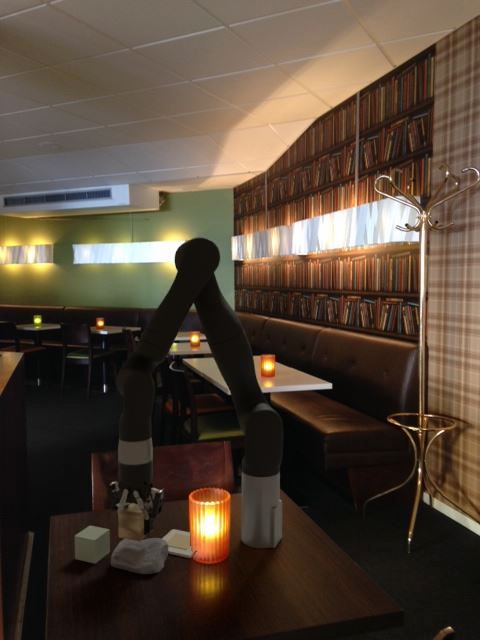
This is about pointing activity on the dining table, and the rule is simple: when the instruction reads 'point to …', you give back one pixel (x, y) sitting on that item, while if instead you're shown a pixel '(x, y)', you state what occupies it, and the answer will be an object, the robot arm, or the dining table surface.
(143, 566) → the stone block
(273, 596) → the dining table surface
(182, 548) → the card
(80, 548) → the sage green cube
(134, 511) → the maple cube
